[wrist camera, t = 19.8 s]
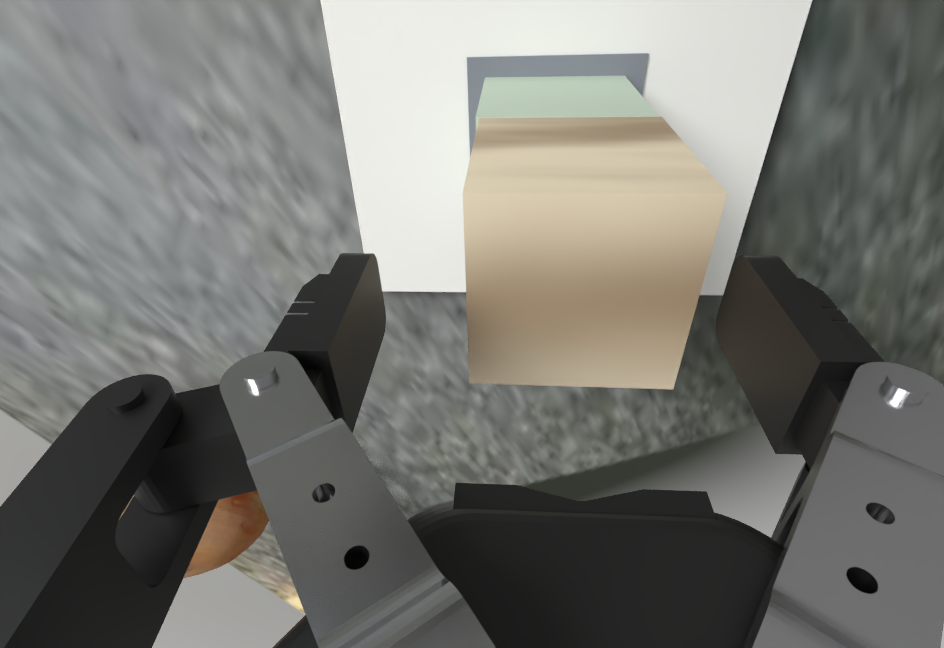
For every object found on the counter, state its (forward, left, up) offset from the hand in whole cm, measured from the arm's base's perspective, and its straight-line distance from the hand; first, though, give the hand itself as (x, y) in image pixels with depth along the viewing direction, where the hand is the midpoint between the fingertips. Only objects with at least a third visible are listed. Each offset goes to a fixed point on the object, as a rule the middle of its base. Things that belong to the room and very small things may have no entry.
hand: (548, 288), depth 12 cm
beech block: (+1, +1, -6) cm, 6 cm away
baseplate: (+1, +1, -13) cm, 13 cm away
